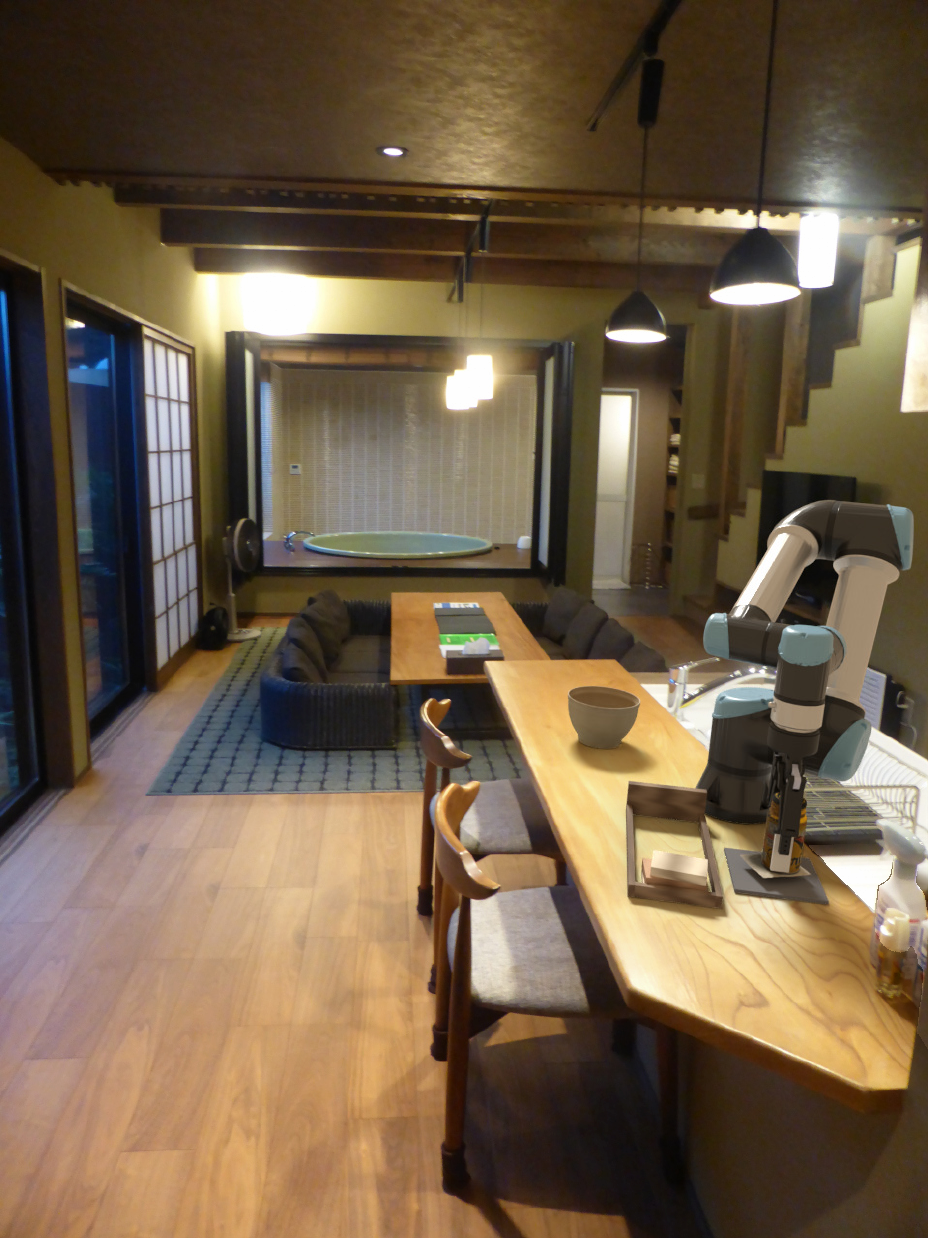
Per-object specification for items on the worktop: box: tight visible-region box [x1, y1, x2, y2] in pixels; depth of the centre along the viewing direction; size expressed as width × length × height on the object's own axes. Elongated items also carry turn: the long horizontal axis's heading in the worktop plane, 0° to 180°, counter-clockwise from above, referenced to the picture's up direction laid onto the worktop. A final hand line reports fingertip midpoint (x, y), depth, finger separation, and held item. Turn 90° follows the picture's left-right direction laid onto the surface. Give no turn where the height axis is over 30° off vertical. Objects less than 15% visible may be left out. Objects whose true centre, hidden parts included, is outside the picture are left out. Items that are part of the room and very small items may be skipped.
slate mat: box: [723, 846, 830, 906], centre depth 142 cm, size 14×14×1 cm
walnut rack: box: [625, 780, 724, 909], centre depth 147 cm, size 14×31×6 cm, turn 170°
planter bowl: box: [567, 685, 641, 750], centre depth 198 cm, size 16×16×11 cm
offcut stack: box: [640, 849, 710, 892], centre depth 137 cm, size 10×7×5 cm
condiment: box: [740, 792, 811, 878], centre depth 141 cm, size 7×8×12 cm
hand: (775, 860), depth 142 cm, fingers closed on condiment, 6 cm apart
